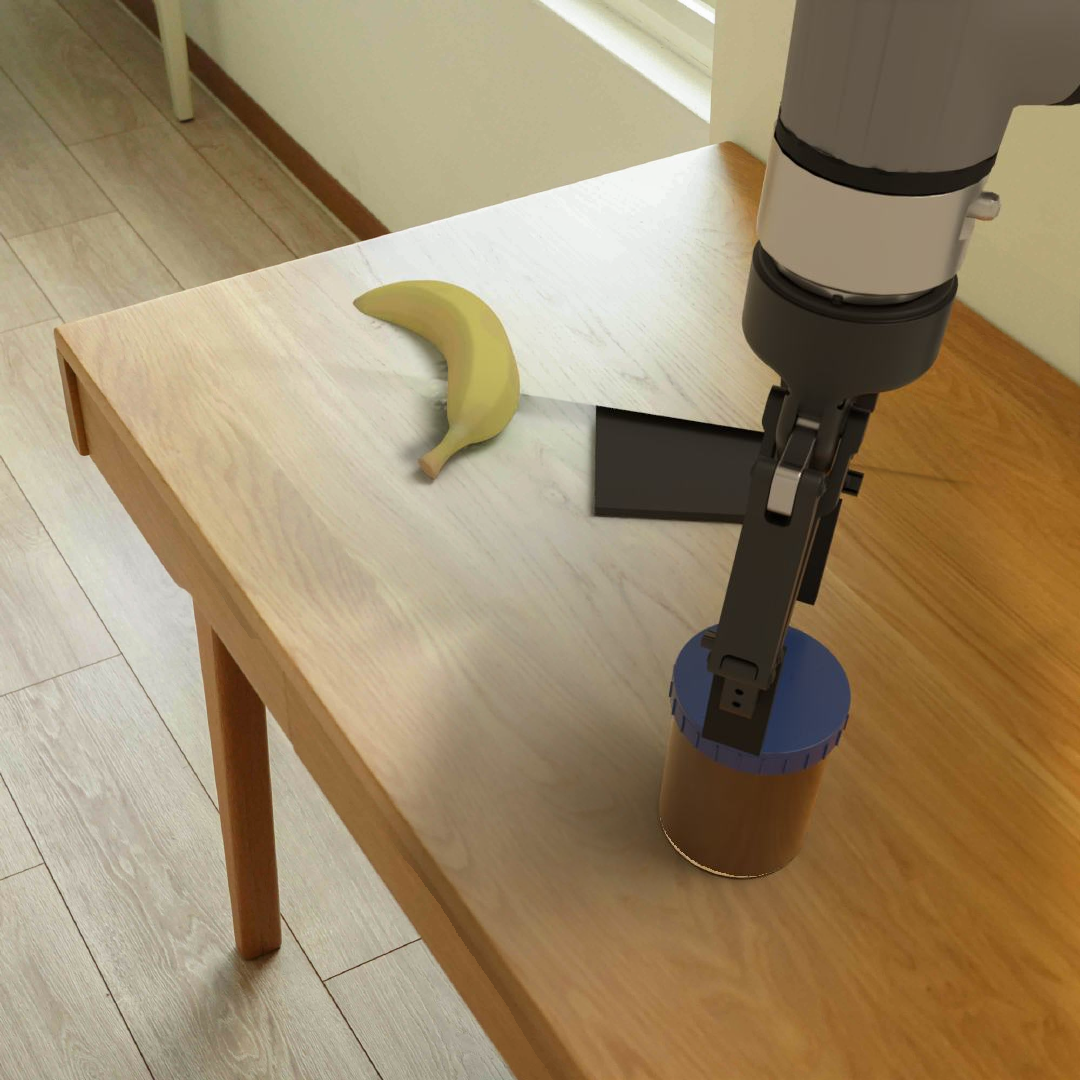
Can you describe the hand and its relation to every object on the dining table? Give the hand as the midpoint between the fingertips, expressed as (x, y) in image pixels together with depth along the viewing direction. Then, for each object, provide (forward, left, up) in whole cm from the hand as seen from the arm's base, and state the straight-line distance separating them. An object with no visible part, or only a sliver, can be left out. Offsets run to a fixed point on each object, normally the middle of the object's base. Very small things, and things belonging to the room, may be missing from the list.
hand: (762, 662), depth 64 cm
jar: (0, 0, -12) cm, 12 cm away
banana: (+26, -32, -13) cm, 43 cm away
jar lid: (0, 0, -2) cm, 2 cm away
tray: (+6, -30, -12) cm, 33 cm away
